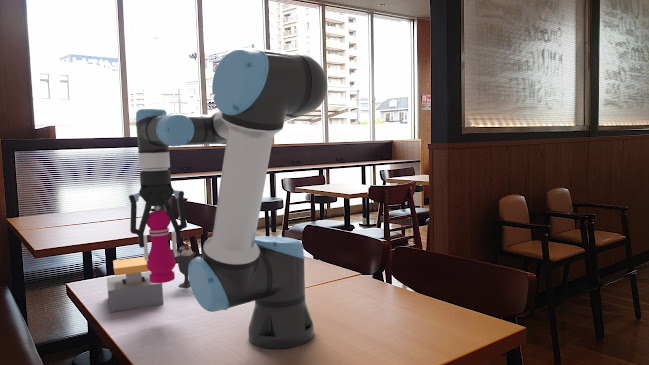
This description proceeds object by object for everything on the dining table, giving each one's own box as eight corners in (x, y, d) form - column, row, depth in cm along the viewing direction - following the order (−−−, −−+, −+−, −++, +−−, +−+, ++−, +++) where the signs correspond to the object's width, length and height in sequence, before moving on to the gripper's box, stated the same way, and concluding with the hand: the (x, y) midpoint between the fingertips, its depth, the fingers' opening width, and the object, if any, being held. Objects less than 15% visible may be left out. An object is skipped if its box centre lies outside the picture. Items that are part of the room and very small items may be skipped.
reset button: (154, 287, 143) (152, 263, 142) (116, 293, 139) (114, 268, 138) (150, 279, 152) (149, 256, 151) (114, 283, 148) (113, 260, 147)
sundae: (194, 288, 156) (192, 240, 155) (173, 288, 156) (170, 241, 155) (200, 281, 163) (197, 236, 161) (179, 282, 163) (177, 236, 162)
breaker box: (163, 303, 142) (162, 283, 142) (109, 312, 137) (108, 290, 136) (157, 290, 155) (156, 271, 154) (108, 297, 149) (106, 277, 149)
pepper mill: (168, 284, 128) (162, 206, 127) (142, 283, 130) (136, 206, 128) (181, 276, 135) (176, 202, 134) (157, 276, 137) (152, 202, 135)
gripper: (190, 166, 137) (196, 250, 139) (113, 171, 129) (120, 259, 131) (196, 167, 131) (201, 255, 133) (114, 172, 123) (121, 265, 125)
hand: (160, 257), depth 132 cm, fingers closed on pepper mill, 6 cm apart
